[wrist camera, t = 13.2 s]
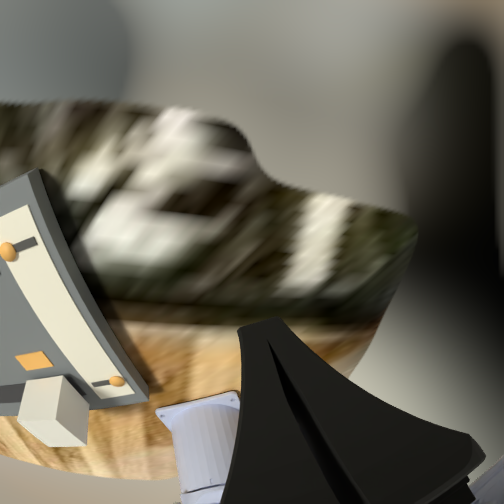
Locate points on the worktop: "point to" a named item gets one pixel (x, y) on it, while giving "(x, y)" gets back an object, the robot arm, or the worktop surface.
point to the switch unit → (52, 310)
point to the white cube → (54, 412)
